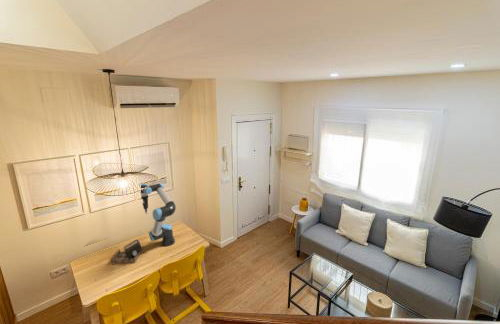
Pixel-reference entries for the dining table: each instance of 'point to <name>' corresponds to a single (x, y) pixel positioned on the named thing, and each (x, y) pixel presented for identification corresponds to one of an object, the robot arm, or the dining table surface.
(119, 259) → the walnut rest
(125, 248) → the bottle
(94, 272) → the dining table surface
